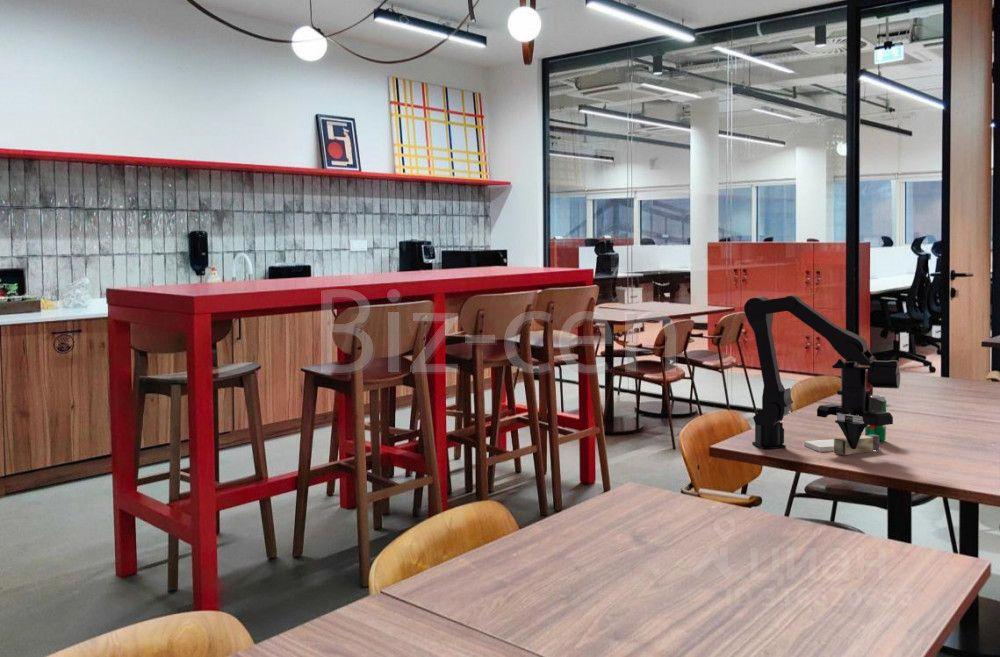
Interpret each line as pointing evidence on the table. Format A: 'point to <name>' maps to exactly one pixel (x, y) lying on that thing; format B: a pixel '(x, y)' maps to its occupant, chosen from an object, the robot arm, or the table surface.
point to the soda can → (877, 429)
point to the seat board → (822, 445)
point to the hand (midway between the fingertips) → (853, 449)
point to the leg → (863, 445)
